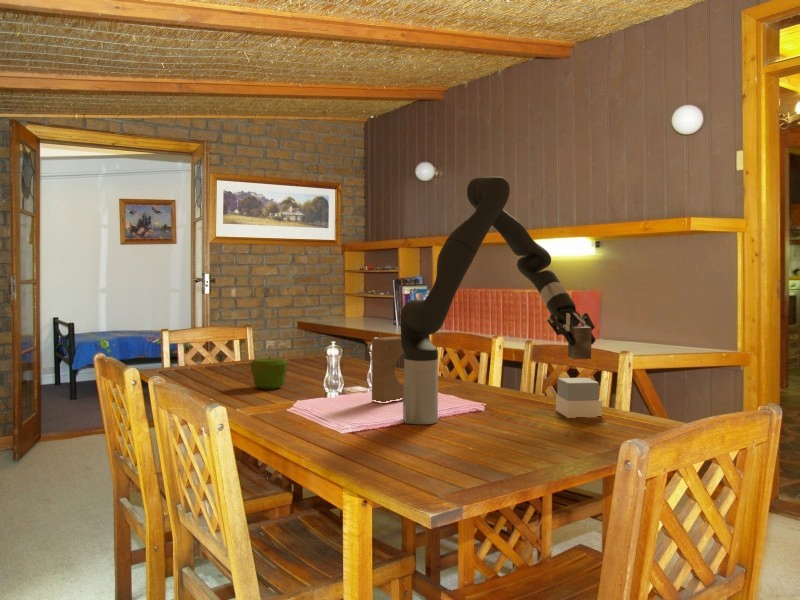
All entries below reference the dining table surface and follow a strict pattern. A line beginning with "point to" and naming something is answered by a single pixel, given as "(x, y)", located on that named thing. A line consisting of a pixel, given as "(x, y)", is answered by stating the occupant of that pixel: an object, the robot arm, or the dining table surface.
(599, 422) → the dining table surface
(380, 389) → the decorative block
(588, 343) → the oak pillar
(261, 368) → the apple
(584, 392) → the tower top
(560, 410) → the tower base
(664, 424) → the dining table surface
